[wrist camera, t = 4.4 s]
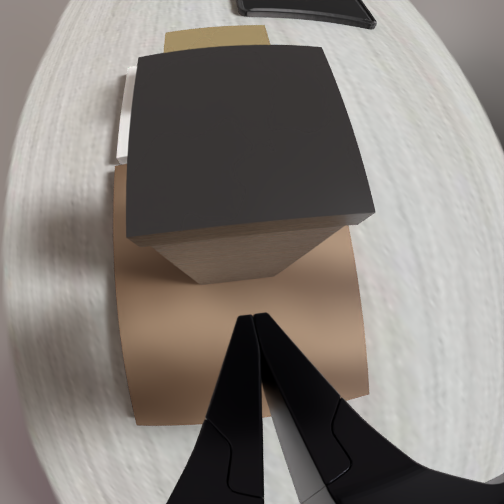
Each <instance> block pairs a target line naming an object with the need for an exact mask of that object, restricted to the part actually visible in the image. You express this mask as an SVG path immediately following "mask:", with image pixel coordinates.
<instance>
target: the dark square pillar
mask: <svg viewBox="0 0 504 504" xmlns="http://www.w3.org/2000/svg"><path fill="white" fill-rule="evenodd" d="M374 213H375V208H374V204H373V200H372V195H371V191H370V187H369V183H368V180H367V176H366V172H365V169H364V165H363V161H362V158H361V154H360V151H359V148H358V144H357V141H356V138H355V135H354V132H353V128H352V125H351V122H350V119H349V116H348V114H347V111H346V108H345V105H344V102H343V99H342V97H341V94H340V91H339V89H338V86H337V83H336V81H335V78H334V76H333V73H332V71H331V68H330V66H329V63H328V61H327V59H326V56H325V54H324V52H323V49H322V47H312V46H296V45H234V46H218V47H206V48H196V49H188V50H180V51H173V52H167V53H160V54H155V55H149V56H144V57H139V58H138V64H137V70H136V77H135V84H134V91H133V99H132V108H131V117H130V128H129V140H128V155H127V176H126V238H128V239H129V240H130V241H132V242H133V243H135V244H136V245H137V246H139V247H148V246H151V247H152V248H154V249H155V250H156V251H157V252H159V253H160V254H161V255H162V256H164V257H165V258H166V259H168V260H169V261H170V262H171V263H173V264H174V265H175V266H176V267H178V268H179V269H180V270H182V271H183V272H184V273H186V274H187V275H188V276H189V277H191V278H192V279H193V280H195V281H196V282H197V283H199V284H200V285H205V284H214V283H223V282H232V281H241V280H249V279H258V278H266V277H274V276H276V275H277V274H279V273H280V272H282V271H283V270H284V269H286V268H287V267H289V266H290V265H291V264H293V263H294V262H296V261H297V260H298V259H300V258H301V257H303V256H304V255H305V254H307V253H308V252H310V251H311V250H312V249H314V248H315V247H316V246H318V245H319V244H321V243H322V242H323V241H325V240H326V239H327V238H329V237H330V236H332V235H333V234H334V233H336V232H337V231H338V230H340V229H341V228H342V227H344V226H347V225H358V224H359V223H361V222H362V221H364V220H365V219H367V218H368V217H370V216H371V215H372V214H374Z"/></svg>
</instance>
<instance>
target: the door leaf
mask: <svg viewBox="0 0 504 504" xmlns="http://www.w3.org/2000/svg"><path fill="white" fill-rule="evenodd" d="M126 176H127V164H123V165H118V166H115V175H114V200H113V245H114V271H115V287H116V300H117V311H118V320H119V329H120V337H121V344H122V352H123V358H124V365H125V371H126V376H127V382H128V387H129V392H130V397H131V402H132V407H133V411H134V416H135V420H136V424H137V425H144V426H166V425H195V424H203V421H204V420H205V419H206V418H205V416H206V413H207V410H208V406H209V403H210V400H211V397H212V394H213V391H214V388H215V385H216V382H217V379H218V376H219V373H220V370H221V366H222V363H223V360H224V357H225V354H226V351H227V348H228V345H229V342H230V339H231V335H232V332H233V329H234V326H235V323H236V320H237V317H238V316H240V315H248V314H251V315H252V316H253V315H254V314H256V313H264V312H267V313H269V314H270V316H271V317H272V318H273V319H274V320H275V321H276V323H277V324H278V325H279V326H280V327H281V328H282V330H283V331H284V332H285V333H286V334H287V335H288V336H289V338H290V339H291V340H292V341H293V342H294V343H295V345H296V346H297V347H298V348H299V349H300V350H301V351H302V353H303V354H304V355H305V356H306V357H307V358H308V359H309V360H310V362H311V363H312V364H313V365H314V366H315V367H316V368H317V370H318V371H319V372H320V373H321V374H322V375H323V376H324V377H325V378H326V380H327V381H328V382H329V383H330V384H331V385H332V386H333V387H334V389H335V390H336V391H337V392H338V393H339V394H340V395H341V397H343V398H344V399H345V401H347V400H350V399H354V398H358V397H361V396H365V395H368V394H369V381H368V366H367V354H366V343H365V333H364V323H363V315H362V307H361V299H360V292H359V285H358V278H357V271H356V265H355V259H354V253H353V247H352V242H351V236H350V231H349V226H348V225H347V226H344V227H342V228H341V229H340V230H338V231H337V232H336V233H334V234H333V235H332V236H330V237H329V238H327V239H326V240H325V241H323V242H322V243H321V244H319V245H318V246H316V247H315V248H314V249H312V250H311V251H310V252H308V253H307V254H305V255H304V256H303V257H301V258H300V259H298V260H297V261H296V262H294V263H293V264H291V265H290V266H289V267H287V268H286V269H284V270H283V271H282V272H280V273H279V274H277V275H276V276H274V277H266V278H258V279H249V280H241V281H232V282H223V283H214V284H205V285H200V284H199V283H197V282H196V281H195V280H193V279H192V278H191V277H189V276H188V275H187V274H186V273H184V272H183V271H182V270H180V269H179V268H178V267H176V266H175V265H174V264H173V263H171V262H170V261H169V260H168V259H166V258H165V257H164V256H162V255H161V254H160V253H159V252H157V251H156V250H155V249H154V248H152V247H151V246H148V247H139V246H137V245H136V244H135V243H133V242H132V241H130V240H129V239H128V238H126ZM341 397H340V398H341ZM270 416H271V413H270V410H269V407H268V404H267V401H266V397H265V394H264V391H263V387H262V418H264V417H270Z"/></svg>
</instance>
